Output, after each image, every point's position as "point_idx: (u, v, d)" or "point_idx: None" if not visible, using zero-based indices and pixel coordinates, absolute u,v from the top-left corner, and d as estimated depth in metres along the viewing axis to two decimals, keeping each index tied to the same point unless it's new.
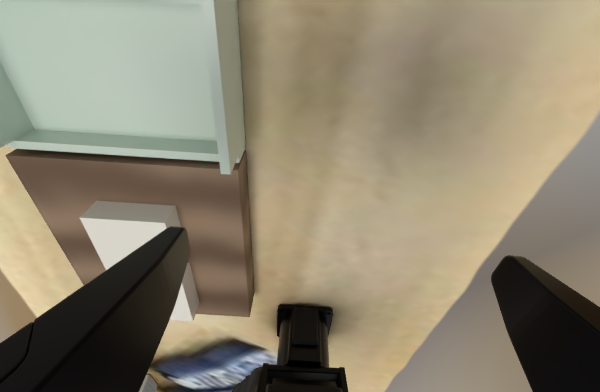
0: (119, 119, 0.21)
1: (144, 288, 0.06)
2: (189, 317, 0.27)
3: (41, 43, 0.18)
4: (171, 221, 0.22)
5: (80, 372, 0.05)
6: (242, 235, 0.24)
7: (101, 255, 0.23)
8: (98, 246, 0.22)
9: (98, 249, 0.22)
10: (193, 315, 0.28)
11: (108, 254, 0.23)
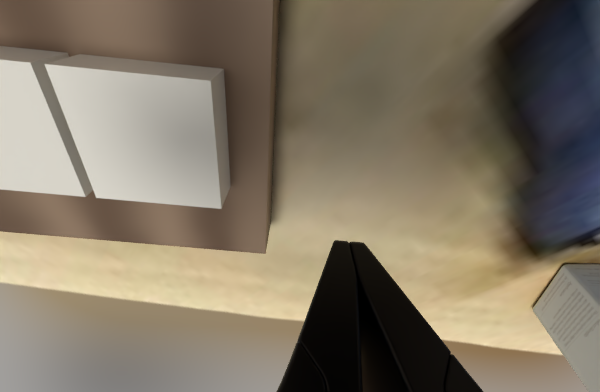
0: None
1: (356, 305, 0.06)
2: (191, 83, 0.11)
3: None
4: None
5: None
6: None
7: (37, 188, 0.14)
8: (15, 185, 0.14)
9: (23, 187, 0.14)
10: (206, 77, 0.11)
11: (28, 177, 0.13)
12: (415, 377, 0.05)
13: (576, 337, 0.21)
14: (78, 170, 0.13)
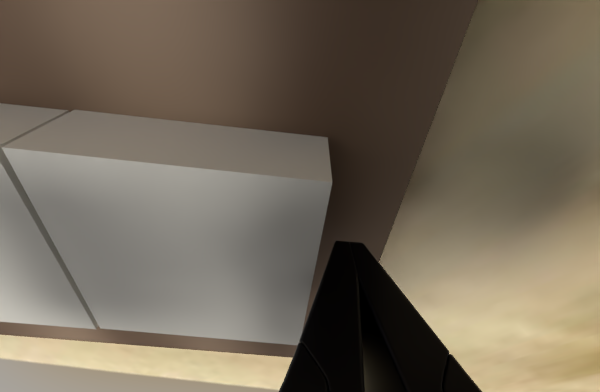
0: None
1: (358, 305, 0.06)
2: (293, 186, 0.06)
3: None
4: None
5: None
6: None
7: (18, 319, 0.09)
8: None
9: None
10: (317, 169, 0.06)
11: (2, 306, 0.08)
12: (413, 377, 0.05)
13: None
14: None
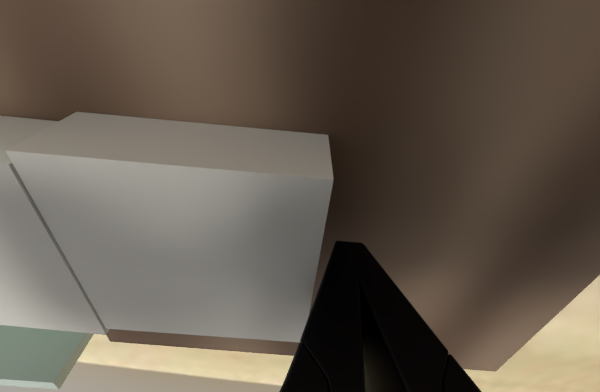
0: None
1: (358, 305, 0.06)
2: (294, 183, 0.06)
3: None
4: None
5: None
6: None
7: (32, 324, 0.09)
8: None
9: (9, 322, 0.09)
10: (318, 166, 0.06)
11: (17, 312, 0.08)
12: (413, 377, 0.05)
13: None
14: None
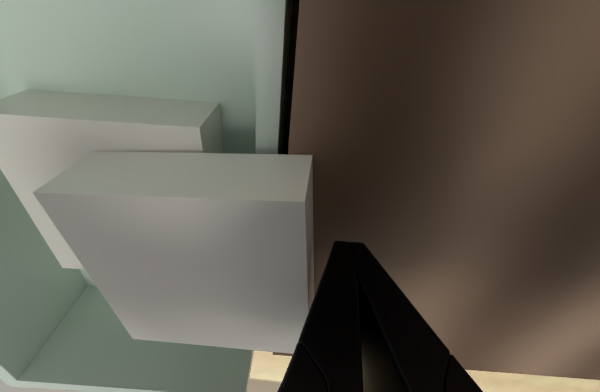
0: None
1: (357, 305, 0.06)
2: (269, 207, 0.06)
3: None
4: (17, 102, 0.08)
5: None
6: None
7: None
8: None
9: None
10: (293, 189, 0.06)
11: None
12: (414, 377, 0.05)
13: None
14: None
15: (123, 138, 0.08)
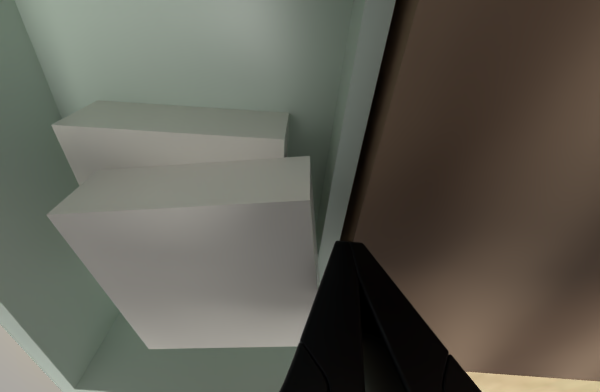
0: None
1: (358, 306, 0.06)
2: (276, 208, 0.06)
3: None
4: (95, 114, 0.08)
5: None
6: None
7: None
8: None
9: None
10: (297, 190, 0.07)
11: None
12: (413, 377, 0.05)
13: None
14: None
15: (206, 150, 0.08)
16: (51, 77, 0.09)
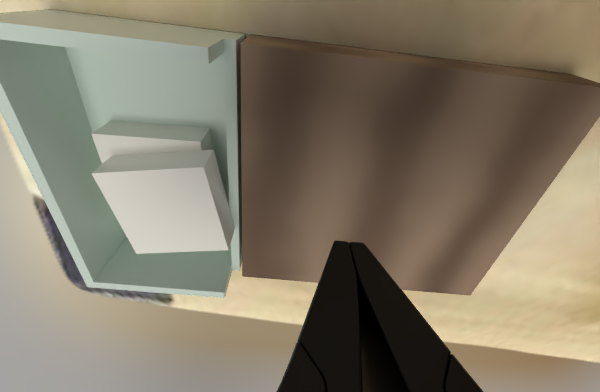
0: None
1: (356, 305, 0.06)
2: (190, 170, 0.15)
3: None
4: (111, 128, 0.17)
5: None
6: (376, 61, 0.13)
7: None
8: None
9: None
10: (200, 163, 0.15)
11: None
12: (415, 377, 0.05)
13: None
14: None
15: (164, 146, 0.16)
16: (88, 109, 0.17)
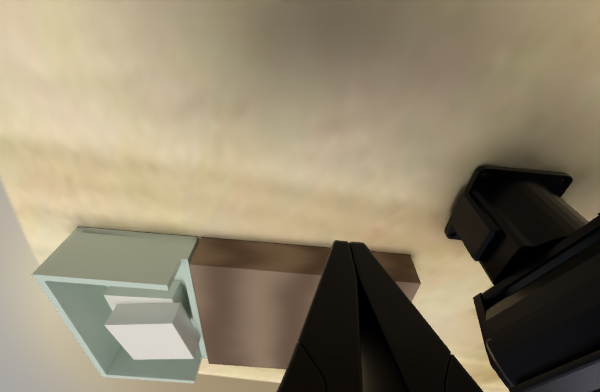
0: (187, 303, 0.29)
1: (356, 305, 0.06)
2: (164, 324, 0.24)
3: None
4: (116, 287, 0.26)
5: None
6: (270, 271, 0.23)
7: None
8: None
9: None
10: (170, 319, 0.25)
11: None
12: (415, 377, 0.04)
13: None
14: None
15: (149, 300, 0.26)
16: None
